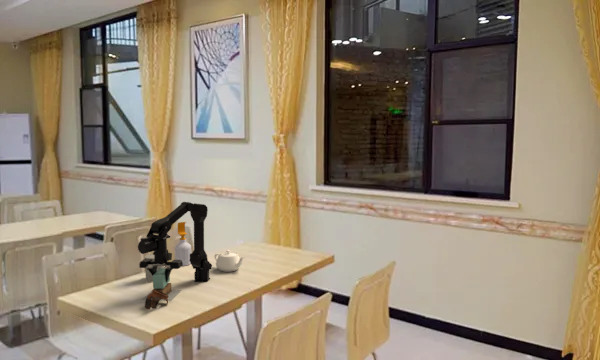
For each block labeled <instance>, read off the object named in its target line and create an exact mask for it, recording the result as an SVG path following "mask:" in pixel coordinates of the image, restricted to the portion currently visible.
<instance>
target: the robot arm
mask: <svg viewBox="0 0 600 360" xmlns="http://www.w3.org/2000/svg"><path fill="white" fill-rule="evenodd" d="M188 212H190V213H189V214H190V217H191V219H192V220H193V221H192V222H193V250H192V251H191V254H190V263H191V264H190V265H191V267H192V268H193V269H194V270H195V271H194V275H193V276H194V283H208V282H209V281H210V280H211V277H210V270H212V267H213V265H212V263H211V262H210V261H209V260H208V255H207V252H206V250H205V220H206V219H207V217H208V206H207V205H206V204H203V203H192V202H189V201H182V202H181V203H180V205H179V206H177V207H176V208H175V209H173V210H172V211H171V212H170V213H168V214H167V215H166V216H165V217H162V218H159V219H157V220H155V221H153V222H152V223H151V225H150V228H149V230H148V232H147V234H146V237H142V238H140V241H139V242H138V245H137V250H138V252H139V253H140V254H142V255H143V254H144V255H145V254H149V253H152V254H153V255H154V261H152V259H145V258H144V259H142V260H141V261H140V262H139V264H138V265H139V266H138V267H139V269H145V268H146V267H147V270H149V271H150V273H151V274H152V276H153V275H154V274H155V273H156V272H157V266H164V267H165V268H166V269H165V279H166V282H168V279H169V276H170V277H171V273H172V270H178V269H180V268H181V267H183V266H182V265H183V262H182V260H175V259H173V258H172V256H173V253H171V252H169V249H168V245H167V244H168V243H167V242H168V241H167V240H168V239H170V238H171V236H170V235H169V232H170V230H172V226H173V225H174V224H175V223H176V222H178V220H179V219H181V218H182V217H183V216H185V214H187V213H188ZM172 259H173V260H172ZM168 283H169V282H168Z"/></svg>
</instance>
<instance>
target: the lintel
mask: <svg viewBox="0 0 600 360" xmlns="http://www.w3.org/2000/svg"><path fill="white" fill-rule="evenodd" d="M166 268H167V267H164V268H160V269H159V270H158V271H157V272H156V273H155V274H154V275H153V281H152V287H153V288H152V290H153V289H163V288H164V287H165V286H166V285H167V283H170V282H171V275H170V276H169V279H168V282H166V279H165V269H166Z"/></svg>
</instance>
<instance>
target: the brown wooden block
mask: <svg viewBox="0 0 600 360" xmlns="http://www.w3.org/2000/svg"><path fill="white" fill-rule="evenodd" d="M153 290H157V291H160V292H162V293H164V294H166V295H167V287H164V288H163V289H153V288H152V290H151V291H152V292H153ZM159 298H160V297H159ZM160 299H161V298H160Z"/></svg>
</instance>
